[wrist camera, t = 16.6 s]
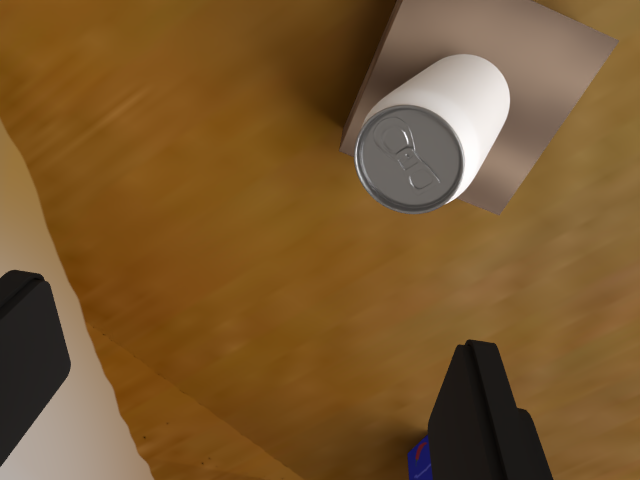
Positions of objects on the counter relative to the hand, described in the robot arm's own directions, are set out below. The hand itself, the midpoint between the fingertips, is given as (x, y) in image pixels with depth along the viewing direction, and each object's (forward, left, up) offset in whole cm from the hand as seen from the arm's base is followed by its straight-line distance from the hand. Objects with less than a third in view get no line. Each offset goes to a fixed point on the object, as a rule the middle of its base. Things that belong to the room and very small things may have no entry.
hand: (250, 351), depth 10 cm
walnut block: (-1, +9, -32) cm, 33 cm away
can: (-1, +9, -25) cm, 27 cm away
